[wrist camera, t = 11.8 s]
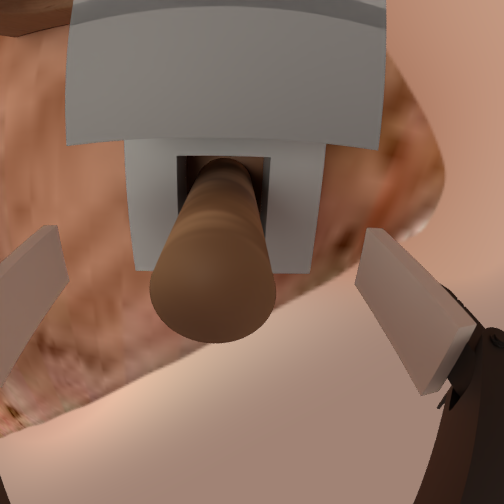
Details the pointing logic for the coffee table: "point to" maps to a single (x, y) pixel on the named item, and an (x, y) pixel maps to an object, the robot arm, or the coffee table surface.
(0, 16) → the wooden block
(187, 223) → the dowel
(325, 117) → the socket block
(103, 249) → the coffee table surface
